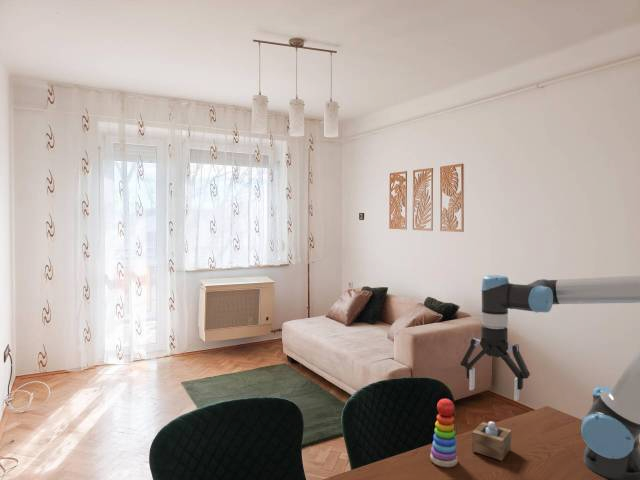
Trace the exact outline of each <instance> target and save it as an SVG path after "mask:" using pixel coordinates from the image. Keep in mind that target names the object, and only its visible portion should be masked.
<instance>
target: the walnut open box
mask: <svg viewBox="0 0 640 480" xmlns="http://www.w3.org/2000/svg"><path fill="white" fill-rule="evenodd" d="M486 427H488V422H485V421H481V423H480V424H478V425H477V426H476V427H475V429H473V431H472V432H471V433H472V434H471V452H475V453H478V454H479V455H484V456H486V457H489V458H493V459H496V460H499V461H501V462H502V461H503V459H505V457H506V456H507V455H508V453H510V452H509V451H511V449H512V429H509V428H505V427H501V426H498V425H495V428H497V429H498V437H497V436H493V435H490V434H487V433H486Z"/></svg>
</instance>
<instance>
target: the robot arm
mask: <svg viewBox="0 0 640 480" xmlns="http://www.w3.org/2000/svg"><path fill="white" fill-rule="evenodd" d="M481 281H482V285H481V290H480V291H481V325H482V326H481V334H480V337H481V339H479V338H477V337H473V338H472V339H470V345H469V347H468V349H467V351H466V352H465V354H464V356H463V358H462V360H461V361H460V366H461V367H464V368H466V379H468V381H469V382H468V389H469V391H473V390H474V389H475V388H476V387H475V386H476V385H475V384H476V382H475V381H476V380H475V379H476V377H475V375H476V373H475V372H476V367H474V366H475V365H476V364H477V363H478V362H479V361H480V360H481V359H482V358H483V357H484V356H485V355H487V356H488V357H494V358H501V359H502V360H503V361H504V363H505V364H506V365H507V366H508V368H509V369H510V370H511V372H512V373H513V374H514V376H515V378H514V381H513V382H514V383H513V384H514V385H513V386H514V387H513V389H514V390H513V391H514V392H513V393H514V394H513V400H514V401H516V402H518V400H519V399H520V391H521V390H522V389H523V387H524V379H528V378H529V377H530V376H531V373H530V372H529V369H528V366H527V365H526V363H525V360H524V358H523V356H522V355H521V352H520V346H519V344H518V343H515V344H509V343H508V330H509V329H508V326H509V325H508V324H509V323H508V321H509V320H508V319H509V318H508V317H509V316H508V315H509V309H511V310H519V311H525V312H526V311H527V312H533V313H549V312H550V311H551V310H552V307H553V305H578V304H580V305H583V304H585V305H586V304H640V275H629V276H628V275H626V276H625V275H624V276H607V277H606V276H604V277H603V276H602V277H585V278H583V277H581V278H567V279H565V278H563V279H562V278H561V279H545V278H543V279H536V280H535V281H533V282H531V283H528V284H519V283H516V284H515V283H510V282H509V281H510V280H509V277H507V276H504V275H496V274H493V275H492V274H491V275H485V276H484V277H483V278H482V280H481ZM478 346H480V347H481V348H482V350H481V351H480V352H479V353H477V355H476V356H475V357H474V358H472V360H470V358H471V357H472V355H473V353H474V352H475V349H476V348H477V347H478ZM508 350H509V351H510V352H511V353H512V355H513V357H514V359H515V362H516V363H515V362H514V360H513V359H512V358H511V356H510V354H509V352H507V351H508ZM517 365H518V366H517ZM591 395H592V397H593V398H592V404H591V407H590V409H589V411H588V412H587V414H586V415H585V417H584V418H583V420H582V421H581V426H580V427H581V428H580V432H581V436H582V439H583V441H584V442H585V444H586V447H585V450H584V452H583V463H584V465H585V466H586V468H588V469H589V470H591V472H594V473H596V474H597V475H600V476H601V477H605V478H608V479H610V480H640V347H639V348H638V350H637V351H636V352H635V354H634V356H633V358H632V359H631V361H629V363H628V365H627V366H626V368H625V369H624V371H623V373H622V374H621V375H620V377H619V379H618V380H617V382H615V384H614V386H613V387H612V386H611V387H610V386H604V385H603V386H596V387H594V388H593V391H592V394H591Z"/></svg>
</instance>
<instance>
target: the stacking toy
mask: <svg viewBox="0 0 640 480" xmlns="http://www.w3.org/2000/svg"><path fill="white" fill-rule="evenodd" d="M455 408H456V407H455V405H454V402H453V401H452V400H450V399H449V398H441V399H439V401H438V402H437V405H436V409H437V412H438V414H437V415H436V421H435V423H434V425H435V428H434V434H433V441H432V446H431V448H430V455H429V456H430V457H429V459H430V460H431V462H432V463H433V464H435V465H436V466H439V467H443V468H451V467H455V466H456V465H457V464H458V462H459V459H458V456H457V455H458V452H457V449H458V446H457V438H456V430H455V424H454V421H455V417H454V416H453V414H454V413H455Z"/></svg>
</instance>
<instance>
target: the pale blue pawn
mask: <svg viewBox="0 0 640 480" xmlns="http://www.w3.org/2000/svg"><path fill="white" fill-rule="evenodd" d="M487 423H488V427H486V433H487V434H490V435H493V436H497V437H498V429H497V428H495V426H496V422H494V421H488V422H487Z"/></svg>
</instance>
